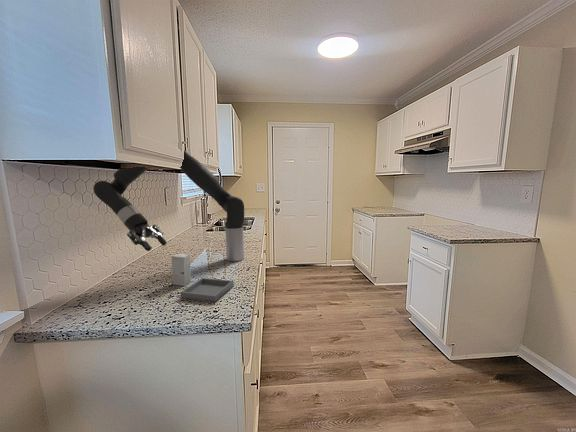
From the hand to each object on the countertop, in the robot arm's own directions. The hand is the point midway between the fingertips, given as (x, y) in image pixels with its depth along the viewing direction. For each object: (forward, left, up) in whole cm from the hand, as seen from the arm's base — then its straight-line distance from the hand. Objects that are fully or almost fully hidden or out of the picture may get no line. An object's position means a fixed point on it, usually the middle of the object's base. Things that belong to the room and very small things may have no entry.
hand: (157, 247), depth 108 cm
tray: (+5, +26, -15) cm, 30 cm away
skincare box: (0, +11, -15) cm, 18 cm away
